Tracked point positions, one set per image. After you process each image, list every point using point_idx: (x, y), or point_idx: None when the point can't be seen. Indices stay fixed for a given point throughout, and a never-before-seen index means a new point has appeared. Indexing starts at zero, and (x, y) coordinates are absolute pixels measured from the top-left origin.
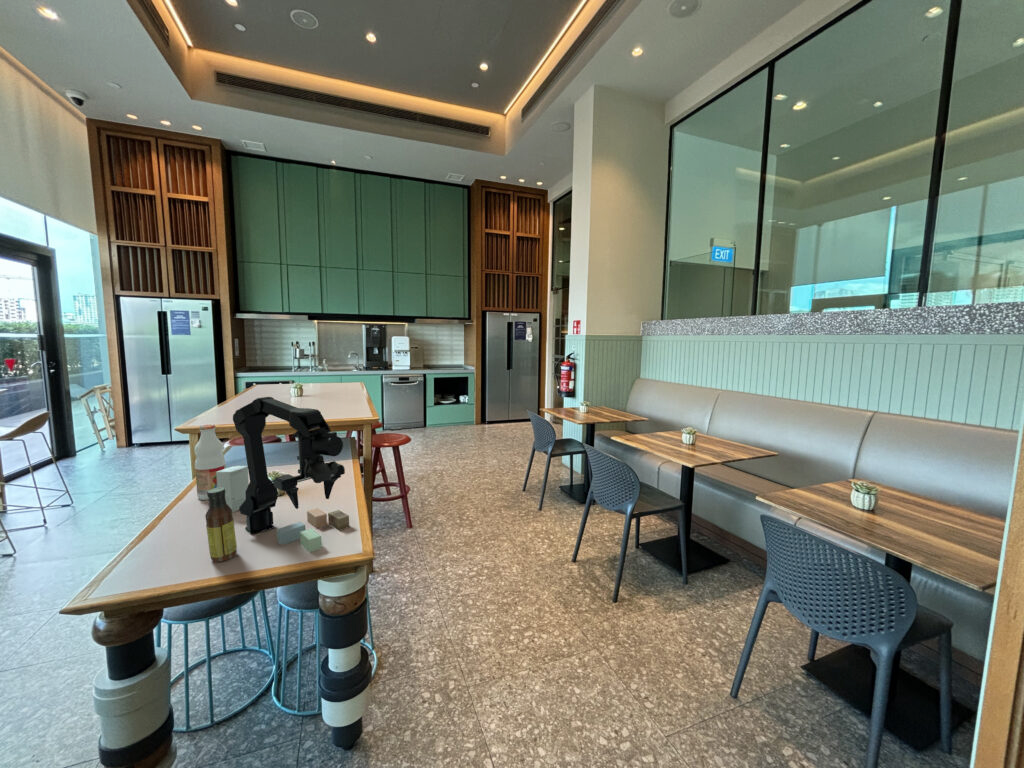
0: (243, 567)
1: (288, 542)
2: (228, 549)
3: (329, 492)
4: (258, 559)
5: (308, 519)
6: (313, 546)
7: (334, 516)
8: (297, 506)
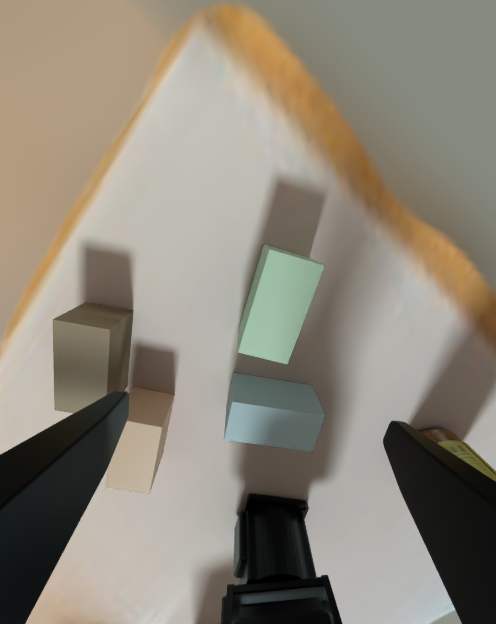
0: (457, 357)
1: (291, 382)
2: (464, 452)
3: (72, 427)
4: (406, 363)
5: (160, 457)
6: (297, 255)
7: (106, 368)
8: (416, 433)
